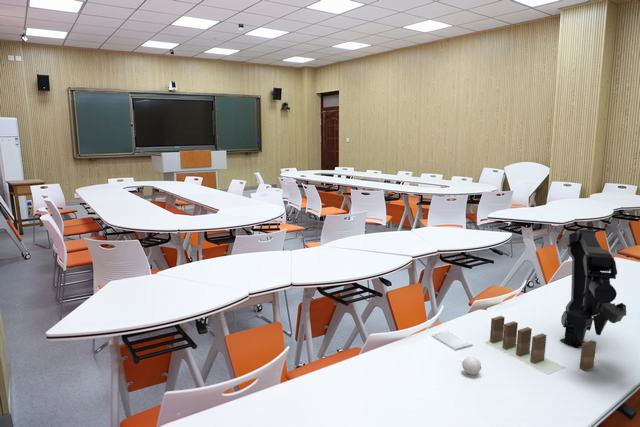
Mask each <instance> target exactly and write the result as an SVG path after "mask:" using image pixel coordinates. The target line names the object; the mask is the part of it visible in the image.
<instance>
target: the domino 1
mask: <svg viewBox="0 0 640 427" xmlns="http://www.w3.org/2000/svg"><path fill="white" fill-rule="evenodd" d="M504 324H505V316H502V315H499V316H496V317H492V318H491V320H490V333H489V334H490V335H489V341H490V342H491V343H493V344H494V343H497V342H500V341H503V334H504Z"/></svg>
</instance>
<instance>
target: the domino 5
mask: <svg viewBox="0 0 640 427" xmlns="http://www.w3.org/2000/svg"><path fill="white" fill-rule="evenodd" d="M596 347H597V342H596V341H595V340H593V339H591V340H588V341H585V343H582V346H581V351H580V359H579V360H580V361H579V370H582V371H583V372H585V371H588V370H591V369H592V368H594V367H595V366H594V365H595V357H596V349H597V348H596Z"/></svg>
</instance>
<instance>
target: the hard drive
mask: <svg viewBox="0 0 640 427" xmlns="http://www.w3.org/2000/svg"><path fill="white" fill-rule="evenodd" d="M431 338H433V339H435V340H437V341H439V342H440V343H441V344H443V345H445V346H447V347H448V348H450V349H452V350H454V351H455V352H456V351H459V350H463V349H466V348H467V349H468V348H470V347H473V344H472V343H471V342H469V341H467V340H465V339H464V338H462V337H460V336H458V335H457V334H454V333H453V332H451V331H450V330H443V331H440V332H437V333H433V334H431Z"/></svg>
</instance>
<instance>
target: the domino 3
mask: <svg viewBox="0 0 640 427" xmlns="http://www.w3.org/2000/svg"><path fill="white" fill-rule="evenodd" d="M532 329H533V328H531V327H528V326H527V327H523V328H520V329H517V338H516V344H517V347H516V355H517V356H519V357H521V356H524V355H526V354H529V353H530V351H531V344H532V331H533V330H532Z"/></svg>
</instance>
